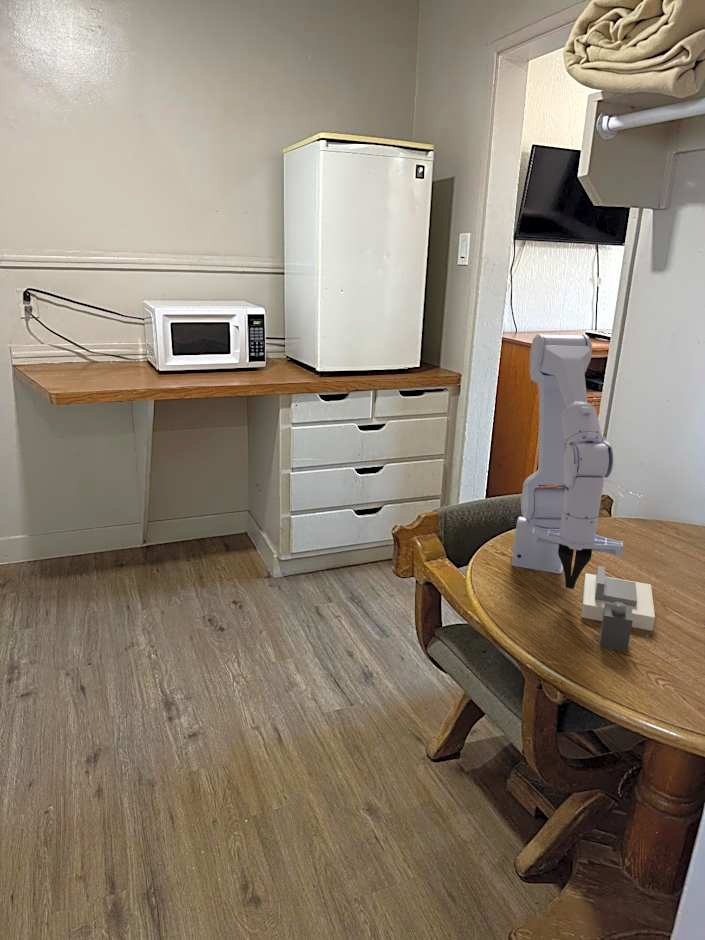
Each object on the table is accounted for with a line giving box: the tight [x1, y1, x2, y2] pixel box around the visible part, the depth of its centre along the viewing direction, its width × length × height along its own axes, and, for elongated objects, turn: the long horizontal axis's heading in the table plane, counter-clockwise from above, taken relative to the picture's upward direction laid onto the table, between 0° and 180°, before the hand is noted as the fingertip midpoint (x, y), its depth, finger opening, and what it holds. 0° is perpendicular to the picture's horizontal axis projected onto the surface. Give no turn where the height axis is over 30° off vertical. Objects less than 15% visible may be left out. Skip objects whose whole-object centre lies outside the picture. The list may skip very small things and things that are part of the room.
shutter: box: [595, 565, 637, 606], centre depth 115 cm, size 6×7×3 cm
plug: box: [599, 602, 633, 653], centre depth 104 cm, size 4×4×7 cm
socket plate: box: [581, 572, 656, 632], centre depth 116 cm, size 11×12×2 cm
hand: (569, 585), depth 116 cm, fingers closed
